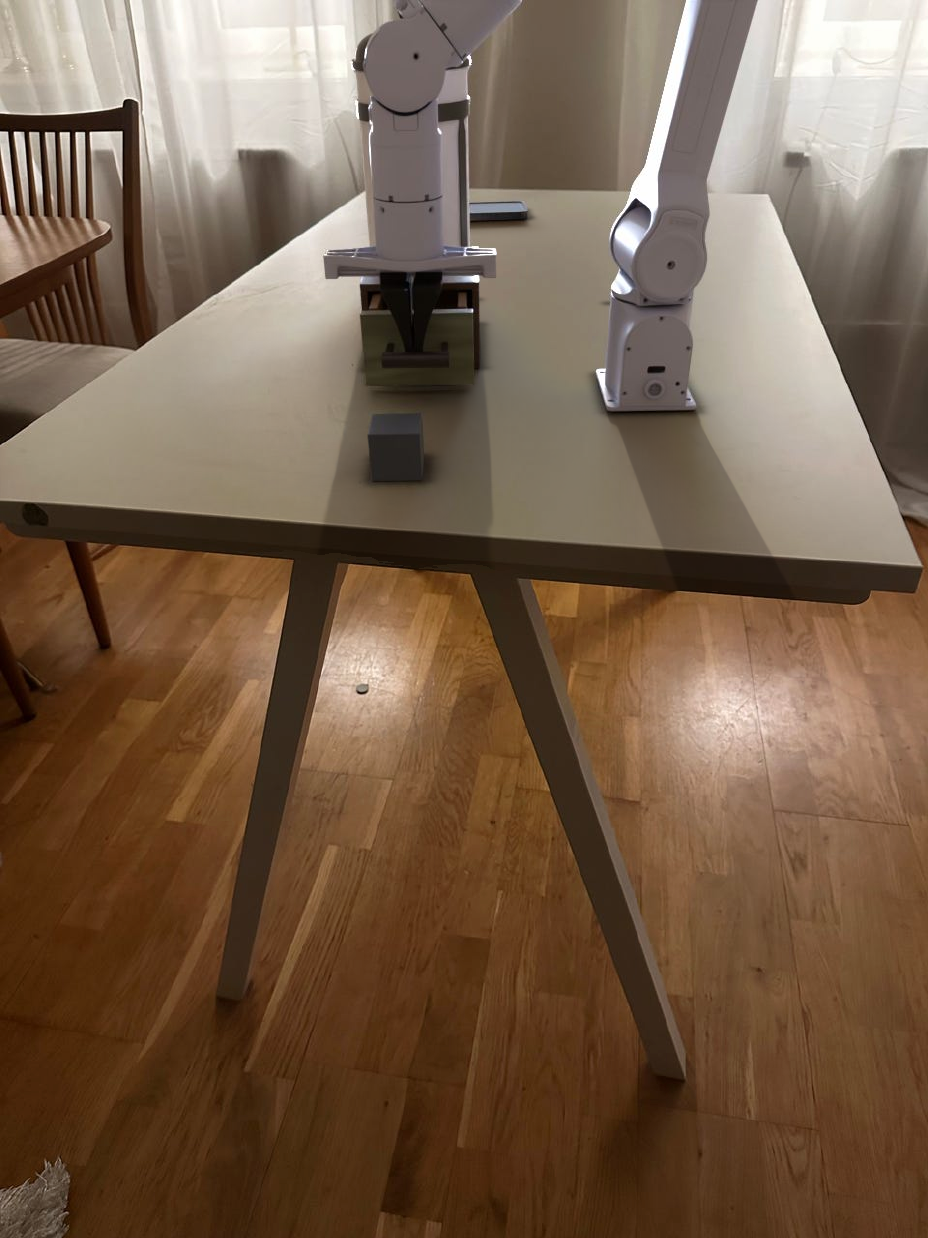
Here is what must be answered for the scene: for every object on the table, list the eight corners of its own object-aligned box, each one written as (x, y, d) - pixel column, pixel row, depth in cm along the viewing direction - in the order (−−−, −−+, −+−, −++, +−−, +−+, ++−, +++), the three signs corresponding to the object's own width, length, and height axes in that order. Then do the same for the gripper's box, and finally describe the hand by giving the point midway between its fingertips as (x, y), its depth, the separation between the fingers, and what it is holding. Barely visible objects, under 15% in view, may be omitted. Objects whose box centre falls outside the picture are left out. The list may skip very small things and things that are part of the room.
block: (422, 480, 71) (419, 433, 69) (371, 481, 71) (367, 434, 69) (424, 458, 75) (422, 412, 72) (376, 459, 75) (372, 413, 72)
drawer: (474, 402, 82) (472, 328, 78) (361, 404, 82) (354, 330, 78) (473, 339, 95) (473, 274, 91) (377, 341, 95) (372, 275, 91)
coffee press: (510, 285, 114) (512, -5, 96) (435, 319, 103) (423, 1, 86) (400, 266, 122) (384, -4, 104) (321, 297, 111) (288, 2, 94)
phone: (528, 211, 142) (432, 213, 142) (528, 218, 143) (433, 221, 142) (523, 200, 148) (432, 203, 148) (523, 207, 149) (432, 210, 149)
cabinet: (480, 368, 91) (479, 281, 86) (366, 369, 91) (359, 284, 86) (479, 324, 102) (478, 246, 97) (378, 326, 102) (372, 248, 97)
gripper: (495, 185, 77) (494, 342, 85) (325, 186, 77) (340, 343, 85) (497, 202, 71) (495, 370, 79) (313, 204, 71) (330, 371, 79)
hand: (414, 358), depth 82 cm, fingers closed, pressing on drawer
